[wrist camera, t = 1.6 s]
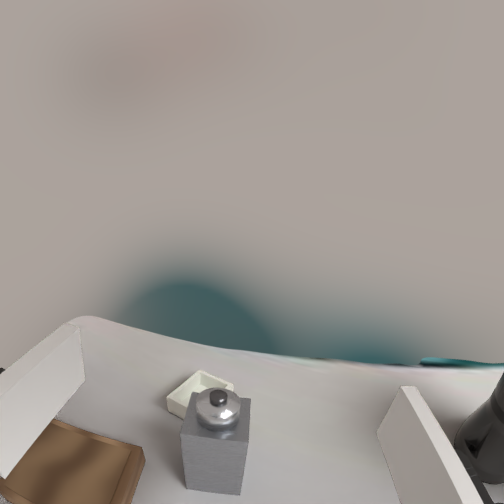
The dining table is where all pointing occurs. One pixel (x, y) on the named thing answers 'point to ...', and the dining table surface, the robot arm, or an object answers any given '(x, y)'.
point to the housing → (215, 441)
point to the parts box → (195, 383)
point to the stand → (74, 469)
